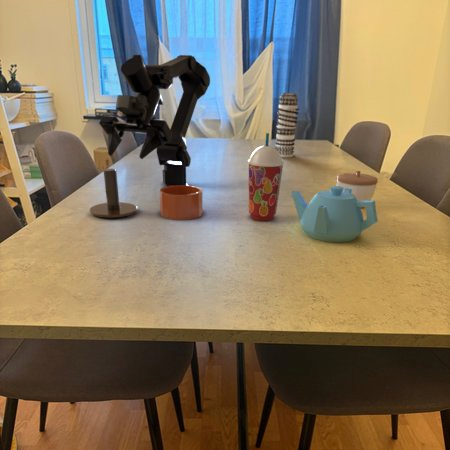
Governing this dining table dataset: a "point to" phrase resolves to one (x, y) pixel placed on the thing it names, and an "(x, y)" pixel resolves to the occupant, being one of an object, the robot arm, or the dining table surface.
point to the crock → (181, 202)
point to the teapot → (334, 215)
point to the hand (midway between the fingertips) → (124, 156)
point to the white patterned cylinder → (286, 124)
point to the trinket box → (358, 184)
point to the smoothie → (264, 182)
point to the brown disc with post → (112, 199)
